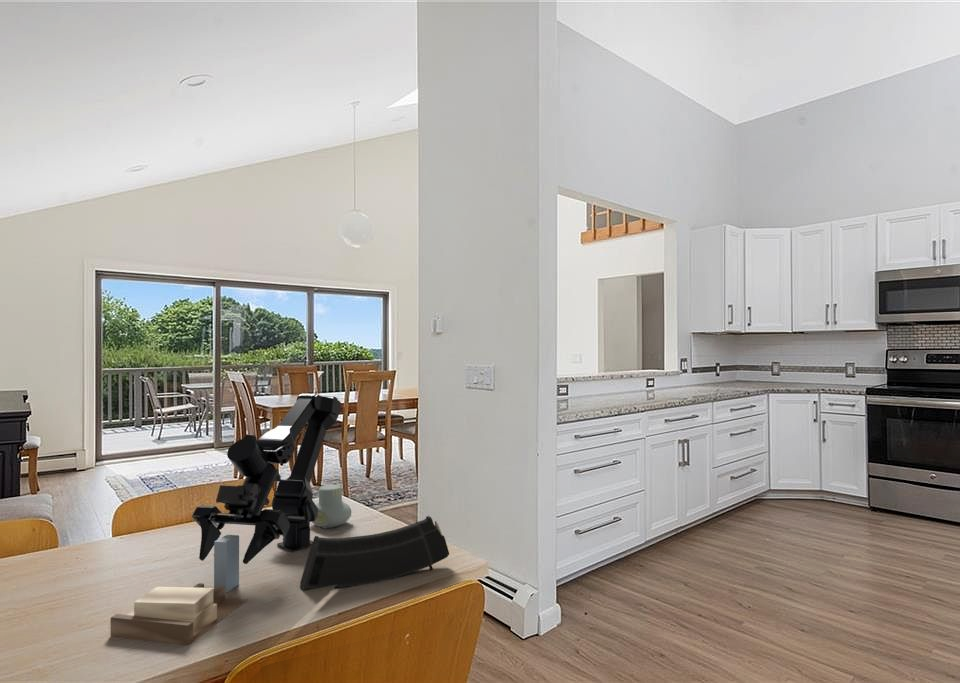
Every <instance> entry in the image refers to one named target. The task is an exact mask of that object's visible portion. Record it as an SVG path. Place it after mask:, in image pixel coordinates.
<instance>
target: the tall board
mask: <svg viewBox="0 0 960 683" xmlns="http://www.w3.org/2000/svg"><path fill="white" fill-rule="evenodd" d="M213 552H214V553H213V589H215V588H216V587H218V586H219V585H225V594H227V593H228V592H230V591H231V590H233V589H235V588H236V587H237V586H238V585H240V535H238V534H226V535H224V536H222V537H219V538H218V540H216V541H214V546H213Z"/></svg>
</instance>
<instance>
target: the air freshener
mask: <svg viewBox="0 0 960 683" xmlns="http://www.w3.org/2000/svg"><path fill="white" fill-rule="evenodd" d="M342 490H343V487H342V486H341V485H338V484H326V485H321V486H320V487H319V488H318V503H315V505H316V506H317V508H318V515H317V518H316V520H315V521H312V522H311V523H312V524H313V525H315V526H317V527H319V528H321V529H331V528H336V527H339V526H342V525H343V524H345V523H347V522H348V521H349V520H350V518H351V516H352V508H351V506H350V505H349V504H348V503H346V502H344V501H343V497H342V496H343V493H342V492H343V491H342Z"/></svg>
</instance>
